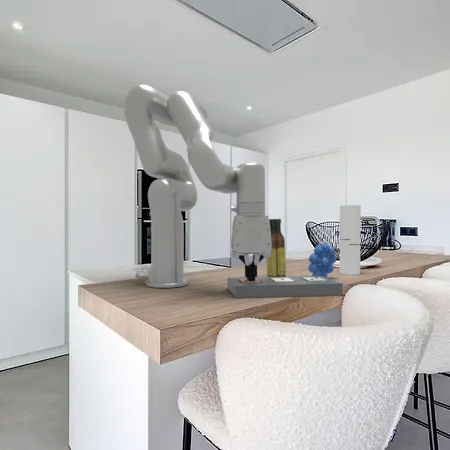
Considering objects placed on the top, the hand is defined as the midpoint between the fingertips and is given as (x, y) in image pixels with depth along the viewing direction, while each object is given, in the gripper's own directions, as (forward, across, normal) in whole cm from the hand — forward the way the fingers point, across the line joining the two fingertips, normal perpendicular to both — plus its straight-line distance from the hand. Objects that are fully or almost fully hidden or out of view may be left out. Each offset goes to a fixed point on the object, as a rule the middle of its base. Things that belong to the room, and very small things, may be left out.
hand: (251, 279), depth 84 cm
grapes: (+4, +28, +18) cm, 33 cm away
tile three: (+3, 0, 0) cm, 3 cm away
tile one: (+3, +9, 0) cm, 9 cm away
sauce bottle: (+4, +13, +19) cm, 23 cm away
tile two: (+3, +18, 0) cm, 18 cm away
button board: (+3, +9, 0) cm, 9 cm away
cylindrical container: (+4, +44, +28) cm, 52 cm away
